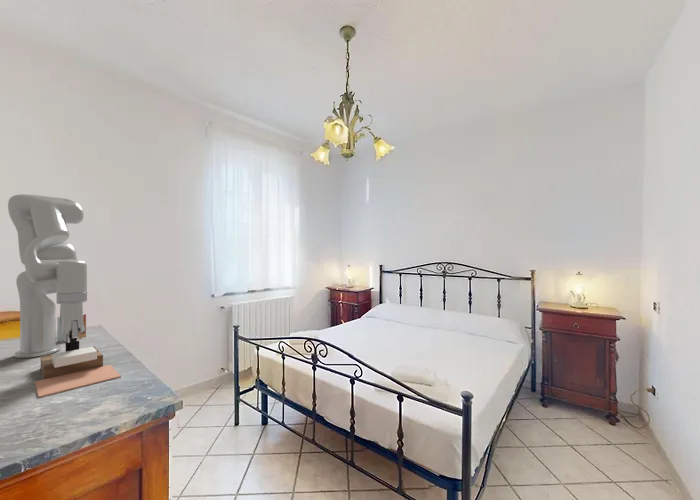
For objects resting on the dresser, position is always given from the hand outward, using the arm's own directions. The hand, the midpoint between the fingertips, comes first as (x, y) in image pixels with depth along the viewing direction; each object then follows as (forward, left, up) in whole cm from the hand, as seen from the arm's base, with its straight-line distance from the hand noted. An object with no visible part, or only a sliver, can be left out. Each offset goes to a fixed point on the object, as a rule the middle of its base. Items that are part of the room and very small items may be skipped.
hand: (72, 353), depth 103 cm
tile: (+5, +2, 0) cm, 5 cm away
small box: (-43, -15, -5) cm, 46 cm away
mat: (+12, +5, -5) cm, 14 cm away
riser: (-1, -1, -5) cm, 5 cm away
